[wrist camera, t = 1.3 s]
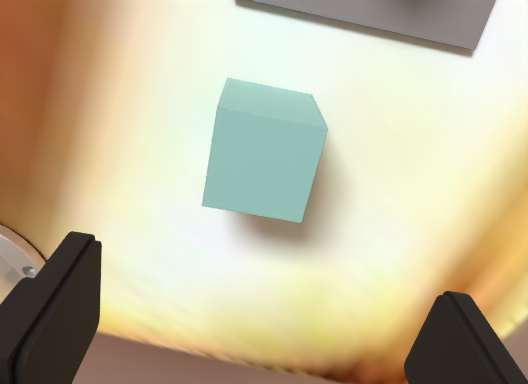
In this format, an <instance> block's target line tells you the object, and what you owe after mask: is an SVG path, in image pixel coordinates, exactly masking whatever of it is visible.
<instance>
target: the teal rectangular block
mask: <svg viewBox="0 0 528 384" xmlns="http://www.w3.org/2000/svg"><path fill="white" fill-rule="evenodd" d="M327 131H328V127H327V125H326V123H325V121H324V119H323V117H322V115H321V113H320V111H319V109H318V106H317V104H316V102H315V100H314V98H313V96H312V95H310V94H306V93H301V92H296V91H291V90H286V89H281V88H276V87H271V86H266V85H261V84H256V83H251V82H246V81H241V80H237V79H232V78H227V80H226V83H225V86H224V89H223V92H222V94H221V97H220V100H219V103H218V106H217V111H216V118H215V124H214V131H213V137H212V144H211V150H210V157H209V163H208V170H207V176H206V183H205V189H204V196H203V202H202V206H205V207H211V208H217V209H223V210H229V211H234V212H240V213H246V214H252V215H258V216H264V217H269V218H275V219H281V220H287V221H293V222H299V223H302V219H303V216H304V212H305V208H306V205H307V201H308V198H309V194H310V191H311V187H312V184H313V180H314V177H315V173H316V170H317V166H318V162H319V159H320V155H321V152H322V148H323V145H324V141H325V138H326V134H327Z"/></svg>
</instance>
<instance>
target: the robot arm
mask: <svg viewBox="0 0 528 384" xmlns="http://www.w3.org/2000/svg"><path fill="white" fill-rule="evenodd" d="M101 250H102V245H101V242H100V241H95V236H94V235H92V234H86V233H80V232H73V231H71V232H70V233H68V235H67V236H66V237H65V239H64V240H63V241H62V242H61V244H60V245H59V246H58V248H57V249H56V250H55V251H54V253H53V254H52V255H51V257H50V258H49V259H48V261H47V262H46V263H45V261H44V260H43V259H42V257H41V256H40V255H39V253H38V252H37V251H36V250H35V249H34V248H33V247H32V246H31V245H30V244H29V243H28V242H26V241H25V240H24V239H23V238H22V237H20V236H19V235H17V234H16V233H14V232H13V231H12V230H10V229H9V228H7V227H5V226H3V225H1V224H0V384H72V381H73V379H74V377H75V375H76V373H77V371H78V369H79V366H80V364H81V362H82V360H83V358H84V356H85V354H86V352H87V350H88V348H89V345H90V343H91V341H92V339H93V337H94V335H95V333H96V330H97V328H98V324H99V318H100V285H101ZM404 370H405V375H406V377H407V380H408V383H409V384H528V381H527V379H526V378H525V376H524V375H523V373H522V372H521V370H520V369H519V367H518V366H517V364H516V363H515V361H514V360H513V358H512V357H511V355H510V354H509V352H508V351H507V350H506V348H505V347H504V345H503V344H502V342H501V341H500V339H499V338H498V336H497V335H496V333H495V332H494V330H493V329H492V327H491V326H490V324H489V323H488V321H487V320H486V318H485V317H484V315H483V314H482V312H481V311H480V310H479V308H478V307H477V305H476V304H475V302H474V301H473V299H472V298H471V297H470V296H469V295H468V294H464V293H458V292H452V291H446V292H444V293H443V295H439V296H438V297H437V298H436V300H435V302H434V304H433V306H432V308H431V310H430V312H429V314H428V316H427V318H426V320H425V322H424V324H423V326H422V328H421V330H420V332H419V334H418V336H417V338H416V340H415V342H414V344H413V346H412V348H411V350H410V352H409V354H408V356H407V358H406V361H405V365H404Z"/></svg>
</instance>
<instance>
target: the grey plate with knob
mask: <svg viewBox="0 0 528 384" xmlns="http://www.w3.org/2000/svg"><path fill="white" fill-rule="evenodd" d="M252 1H256V2H261V3H265V4H270V5H274V6H279V7H283V8H288V9H292V10H297V11H301V12H306V13H310V14H315V15H319V16H324V17H328V18H333V19H337V20H342V21H346V22H351V23H355V24H360V25H364V26H369V27H373V28H378V29H382V30H387V31H391V32H395V33H400V34H404V35H409V36H413V37H418V38H422V39H427V40H431V41H436V42H440V43H445V44H449V45H454V46H458V47H463V48H467V49H472V50H475V49H476V46H477V44H478V41H479V39H480V37H481V34H482V32H483V29H484V27H485V24H486V22H487V20H488V17H489V15H490V12H491V10H492V7H493V5H494V3H495V0H252Z"/></svg>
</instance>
